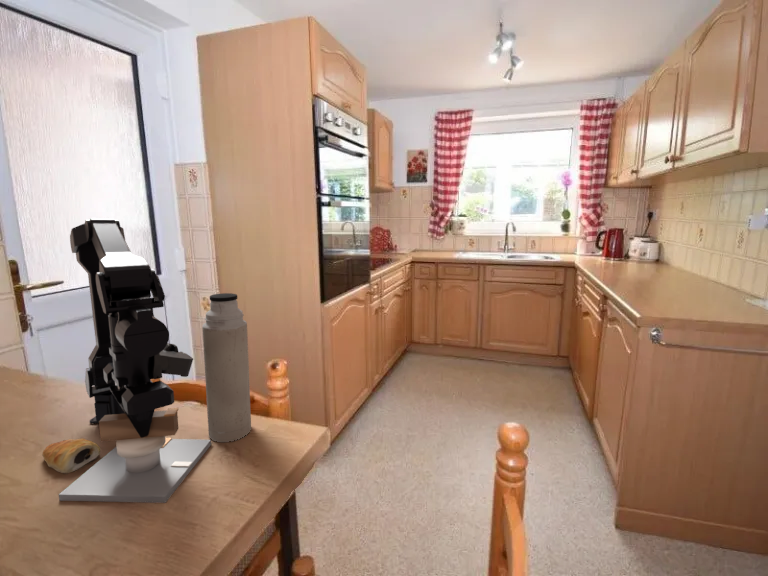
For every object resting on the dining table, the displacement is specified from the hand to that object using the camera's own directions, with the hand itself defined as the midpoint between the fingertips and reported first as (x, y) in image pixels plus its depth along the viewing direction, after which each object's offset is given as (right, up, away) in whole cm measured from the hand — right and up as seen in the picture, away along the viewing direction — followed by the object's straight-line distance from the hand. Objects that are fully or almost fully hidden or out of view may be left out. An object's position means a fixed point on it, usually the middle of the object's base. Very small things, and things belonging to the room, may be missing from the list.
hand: (141, 431), depth 68 cm
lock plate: (0, -7, +1) cm, 7 cm away
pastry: (-14, -7, +3) cm, 16 cm away
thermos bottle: (+10, -5, +14) cm, 18 cm away
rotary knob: (0, -3, 0) cm, 3 cm away
